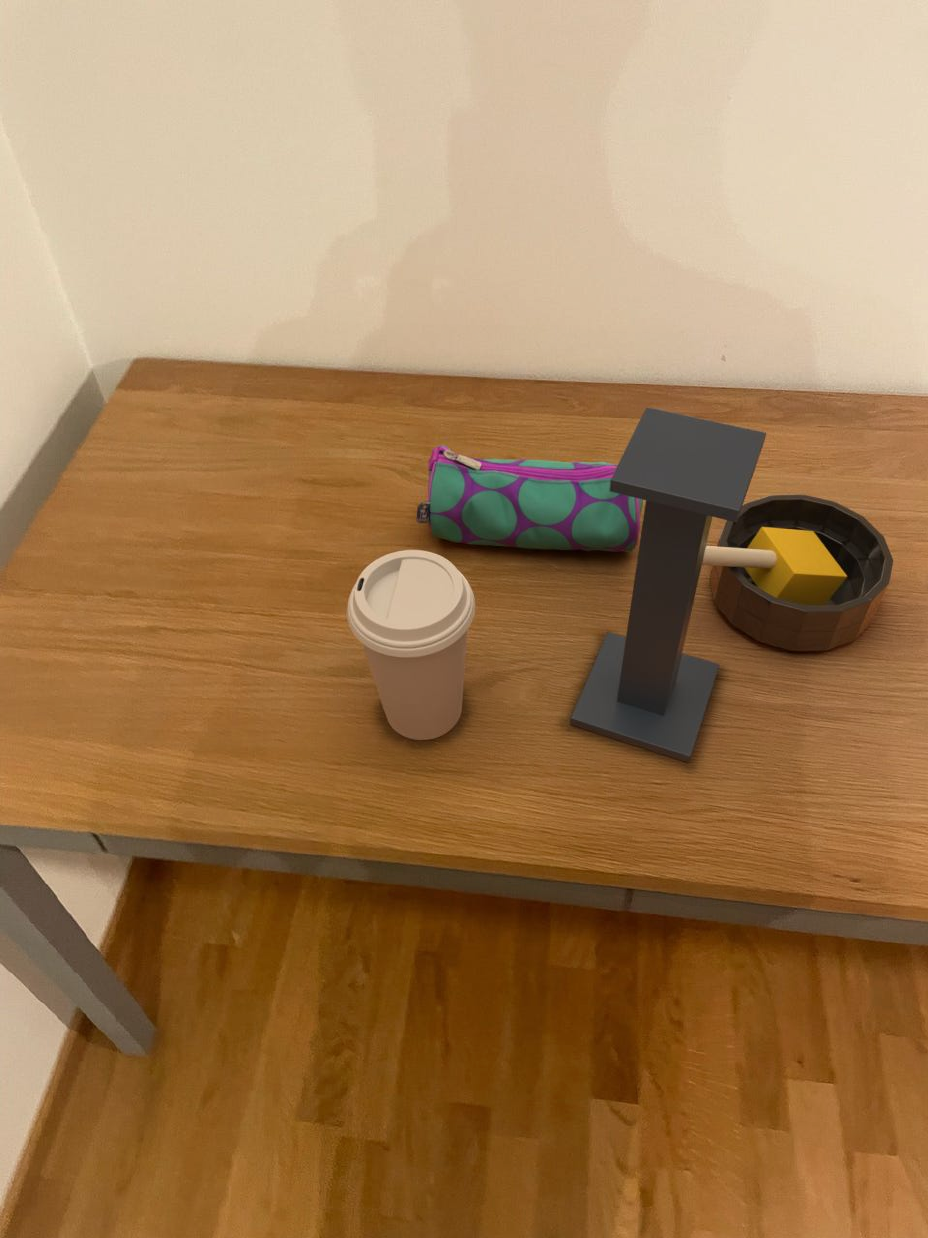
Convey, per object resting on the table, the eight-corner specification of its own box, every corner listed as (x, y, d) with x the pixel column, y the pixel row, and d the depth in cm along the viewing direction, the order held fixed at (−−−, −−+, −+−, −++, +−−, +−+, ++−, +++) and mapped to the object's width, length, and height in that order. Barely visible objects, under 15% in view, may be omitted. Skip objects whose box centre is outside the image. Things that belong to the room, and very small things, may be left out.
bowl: (881, 563, 87) (901, 516, 83) (859, 676, 79) (880, 631, 74) (728, 525, 91) (740, 479, 87) (692, 629, 83) (702, 583, 78)
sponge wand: (637, 516, 76) (617, 551, 79) (666, 566, 73) (644, 601, 75) (813, 530, 84) (789, 562, 87) (848, 576, 80) (822, 608, 83)
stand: (718, 671, 80) (785, 426, 60) (688, 763, 74) (752, 525, 54) (606, 638, 83) (636, 394, 63) (569, 724, 77) (589, 485, 57)
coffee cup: (406, 649, 83) (390, 526, 71) (500, 690, 79) (498, 568, 68) (345, 726, 77) (316, 607, 66) (442, 774, 74) (429, 657, 63)
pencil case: (420, 559, 90) (412, 483, 83) (434, 498, 96) (428, 422, 89) (636, 574, 88) (647, 497, 80) (637, 511, 93) (648, 434, 86)
